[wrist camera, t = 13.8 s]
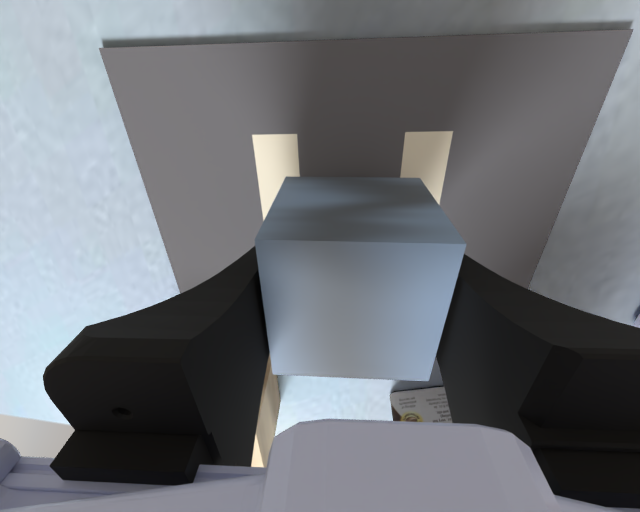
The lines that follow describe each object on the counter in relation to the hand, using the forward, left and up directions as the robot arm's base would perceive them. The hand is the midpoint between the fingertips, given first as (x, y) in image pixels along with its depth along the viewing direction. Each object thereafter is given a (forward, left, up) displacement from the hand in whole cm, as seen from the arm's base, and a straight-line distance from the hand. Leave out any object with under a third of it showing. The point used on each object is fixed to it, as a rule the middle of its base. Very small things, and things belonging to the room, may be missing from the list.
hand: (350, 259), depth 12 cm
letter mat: (0, 0, -3) cm, 3 cm away
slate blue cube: (0, 0, -2) cm, 2 cm away
